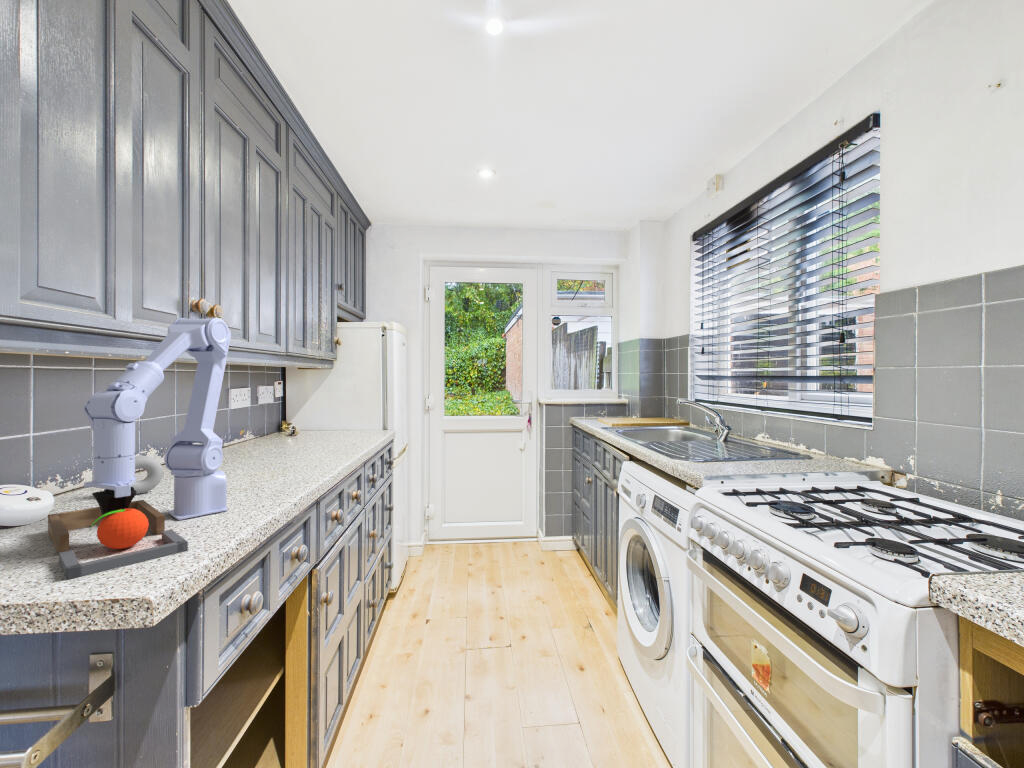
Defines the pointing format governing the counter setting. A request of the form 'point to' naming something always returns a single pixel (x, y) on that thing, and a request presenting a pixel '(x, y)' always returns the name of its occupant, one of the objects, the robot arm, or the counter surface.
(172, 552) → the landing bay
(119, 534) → the clementine
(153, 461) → the donut
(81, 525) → the brown wooden frame
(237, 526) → the counter surface
